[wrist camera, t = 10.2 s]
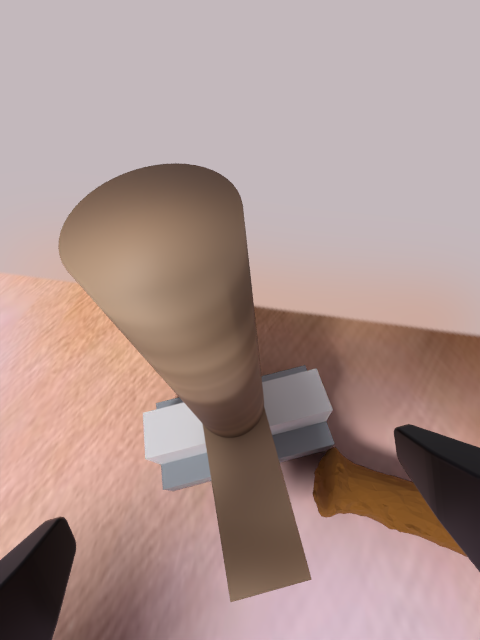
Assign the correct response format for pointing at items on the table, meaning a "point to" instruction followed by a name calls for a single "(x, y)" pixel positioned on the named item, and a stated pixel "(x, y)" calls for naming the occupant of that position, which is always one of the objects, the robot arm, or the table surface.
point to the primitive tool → (376, 499)
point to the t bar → (195, 342)
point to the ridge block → (282, 413)
